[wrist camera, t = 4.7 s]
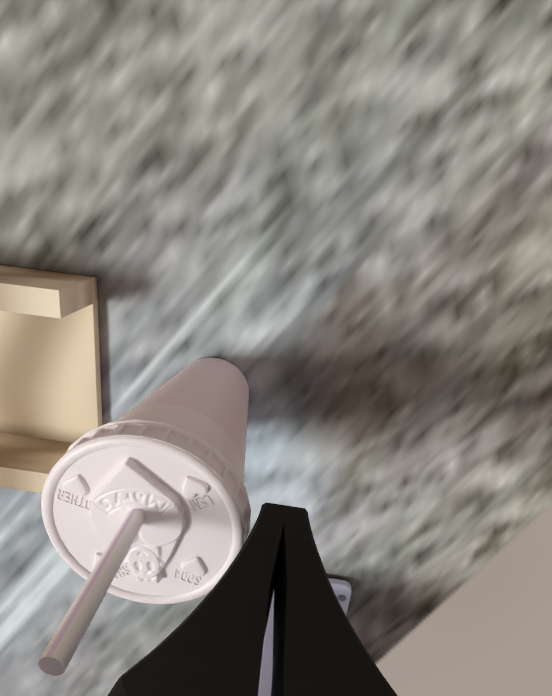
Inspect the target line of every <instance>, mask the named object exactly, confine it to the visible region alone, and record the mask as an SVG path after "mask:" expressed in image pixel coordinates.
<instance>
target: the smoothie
mask: <svg viewBox="0 0 552 696" xmlns="http://www.w3.org/2000/svg"><path fill="white" fill-rule="evenodd" d="M248 403H249V387H248V383H247V381H246V378H245V377H244V375H243V374H242V372H241V371H240V370H239V369H238V368H237V367H236V366H234V365H233V364H232V363H230V362H228V361H226V360H223V359H219V358H202V359H199V360H196V361H194V362H193V363H191V364H190V365H188V366H187V367H186V368H185V369H183V370H182V371H181V372H179V373H178V374H177V375H175V376H174V377H173V378H172V379H170V380H169V381H168V382H166V383H165V384H164V385H163V386H161V387H160V388H159V389H157V390H156V391H155V392H153V393H152V394H151V395H150V396H148V397H147V398H146V399H144V400H143V401H142V402H140V403H139V404H138V405H137V406H135V407H134V408H133V409H131V410H130V411H129V412H127V413H126V414H125V415H123V416H122V417H120V418H119V419H118V420H117V421H112V422H109V423H106V424H104V425H101V426H99V427H96V428H94V429H92V430H89V431H87V432H86V433H85V434H84V435H82V436H81V437H80V438H79V439H78V440H76V441H75V442H74V443H73V444H72V445H70V447H69V448H68V450H67V452H66V453H65V454H64V456H63V457H62V458H61V459H60V460H59V461H58V462H57V463H56V464H55V465H54V467H53V468H52V469H51V471H50V473H49V475H48V476H47V479H46V481H45V484H44V488H43V491H42V499H41V509H42V517H43V521H44V525H45V528H46V531H47V533H48V535H49V538H50V540H51V542H52V543H53V545H54V547H55V548H56V550H57V551H58V553H59V555H60V556H61V557H62V558H63V559H64V560H65V561H66V563H67V564H68V565H69V566H70V567H71V568H72V569H73V570H74V571H76V572H77V573H78V574H79V575H80V576H82V577H83V578H84V579H85V580H87V581H86V582H85V584H84V586H83V587H82V589H81V591H80V592H79V594H78V596H77V597H76V599H75V601H74V602H73V604H72V606H71V607H70V609H69V611H68V612H67V614H66V616H65V617H64V619H63V621H62V622H61V624H60V626H59V627H58V629H57V631H56V632H55V634H54V636H53V637H52V639H51V641H50V642H49V644H48V646H47V647H46V649H45V651H44V652H43V654H42V656H41V657H40V659H39V661H38V666H39V668H40V669H41V670H42V671H43V672H44V673H46V674H49V675H52V676H59V675H62V674H63V673H64V671H65V670H66V668H67V666H68V664H69V662H70V660H71V658H72V656H73V655H74V653H75V651H76V649H77V647H78V645H79V643H80V641H81V639H82V638H83V636H84V634H85V632H86V630H87V628H88V626H89V624H90V623H91V621H92V619H93V617H94V615H95V613H96V611H97V609H98V608H99V606H100V604H101V602H102V600H103V598H104V596H105V594H106V592H109V593H111V594H113V595H116V596H118V597H121V598H125V599H128V600H132V601H136V602H143V603H151V604H173V603H178V602H184V601H189V600H192V599H195V598H198V597H201V596H203V595H205V594H207V593H209V592H210V591H211V590H212V589H213V588H214V586H215V585H216V584H217V583H218V581H219V580H220V579H221V577H222V576H223V575H224V573H225V572H226V571H227V569H228V568H229V566H230V565H231V563H232V562H233V560H234V559H235V557H236V556H237V554H238V553H239V551H240V550H241V548H242V546H243V545H244V542H245V540H246V538H247V536H248V533H249V528H250V516H251V508H250V504H249V499H248V495H247V491H246V487H245V485H244V467H245V451H246V435H247V419H248Z"/></svg>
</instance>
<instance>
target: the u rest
mask: <svg viewBox="0 0 552 696" xmlns="http://www.w3.org/2000/svg"><path fill="white" fill-rule="evenodd" d="M101 425H103V424H102V398H101V372H100V345H99V319H98V292H97V277H93V276H85V275H77V274H69V273H61V272H53V271H45V270H37V269H29V268H21V267H13V266H5V265H0V487H6V488H12V489H19V490H25V491H32V492H39V493H42V491H43V488H44V484H45V481H46V479H47V476H48V475H49V473H50V471H51V469H52V468H53V467H54V465H55V464H56V463H57V462H58V461H59V460H60V459H61V458H62V457H63V456H64V454H65V453H66V452H67V450H68V448H69V447H70V445H72V444H73V443H74V442H75V441H76V440H78V439H79V438H80V437H81V436H82V435H84V434H85V433H86V432H87V431H89V430H92V429H94V428H96V427H99V426H101Z"/></svg>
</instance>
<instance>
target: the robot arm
mask: <svg viewBox="0 0 552 696" xmlns="http://www.w3.org/2000/svg"><path fill="white" fill-rule="evenodd" d="M351 593H352V591H351V585H350V583H349V582H347V581H344V580H338V579H332V578H328V577H327V574H326V572H325V569H324V567H323V564H322V561H321V559H320V556H319V553H318V550H317V547H316V544H315V541H314V538H313V535H312V531H311V527H310V523H309V518H308V512H307V511H306V509H305V508H298V507H292V506H285V505H279V504H272V503H265V504H263V505H262V507H261V511H260V513H259V516H258V518H257V521H256V523H255V525H254V527H253V529H252V531H251V533H250V534H249V536H248V538H247V540H246V541H245V543H244V545H243V546H242V548H241V550H240V551H239V553H238V554H237V556H236V557H235V559H234V560H233V562H232V563H231V565H230V566H229V568H228V569H227V571H226V572H225V573H224V575H223V576H222V577H221V579H220V580H219V581H218V583H217V584H216V585H215V586H214V588H213V589H212V590H211V591H210V593H209V594H208V595H207V596H206V597H205V599H204V600H203V601H202V602H201V603H200V604H199V605H198V606H197V607H196V609H195V610H194V611H193V612H192V613H191V614H190V615H189V616H188V617H187V618H186V619H185V620H184V621H183V622H182V623H181V624H180V625H179V626H178V627H177V628H176V629H175V630H174V631H173V632H172V633H171V634H170V635H169V636H168V637H167V638H166V639H165V640H164V641H162V642H161V643H160V644H159V645H158V646H157V647H156V648H155V649H154V650H153V651H151V652H150V653H149V654H148V655H147V656H145V657H144V658H143V659H142V660H140V661H139V662H138V663H137V664H135V665H134V666H133V667H132V668H131V669H129V670H128V671H127V672H126V673H124V674H123V675H122V676H121V677H120V678H119V679H118V681H117V682H116V684H115V685H114V687H113V688H112V690H111V691H110V693H109V694H108V696H397V695H396V693H395V692H394V690H393V689H392V688H391V686H390V685H389V684H388V682H387V681H386V679H385V678H384V677H383V675H382V674H381V672H380V671H379V669H378V668H377V666H376V665H375V663H374V661H373V660H372V658H371V657H370V655H369V654H368V652H367V651H366V649H365V648H364V646H363V645H362V643H361V641H360V640H359V638H358V636H357V635H356V633H355V631H354V629H353V628H352V626H351V624H350V622H349V620H348V619H347V617H346V615H347V610H348V606H349V602H350V597H351ZM340 595H343V596H340Z"/></svg>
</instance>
